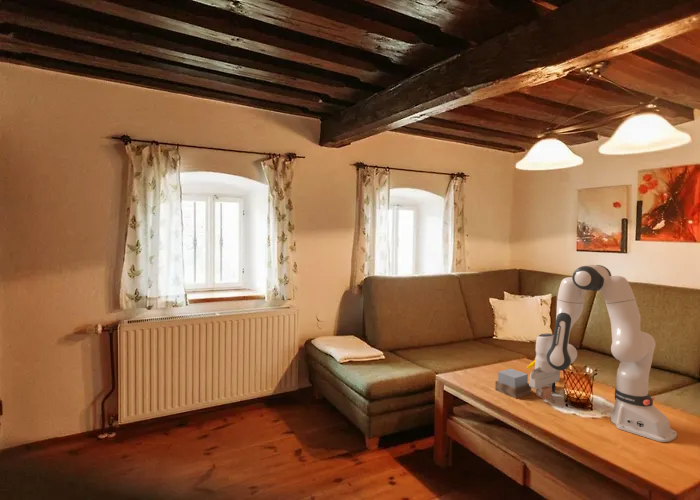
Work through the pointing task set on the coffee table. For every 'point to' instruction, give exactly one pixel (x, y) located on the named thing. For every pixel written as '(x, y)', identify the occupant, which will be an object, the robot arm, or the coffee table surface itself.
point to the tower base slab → (513, 390)
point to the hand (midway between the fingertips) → (544, 393)
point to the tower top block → (513, 378)
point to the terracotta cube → (545, 392)
